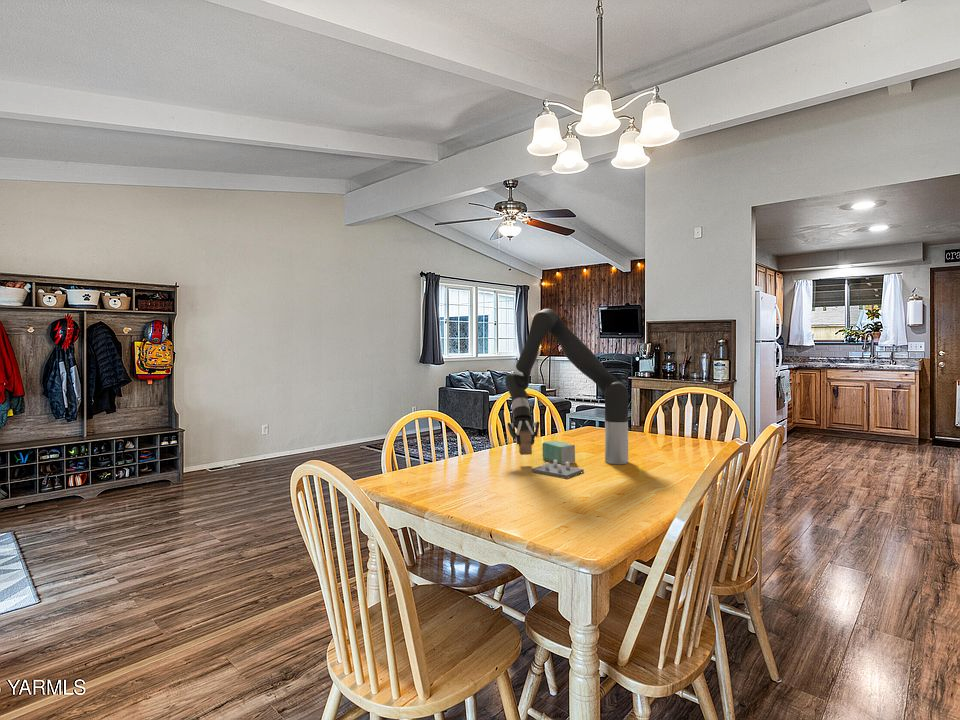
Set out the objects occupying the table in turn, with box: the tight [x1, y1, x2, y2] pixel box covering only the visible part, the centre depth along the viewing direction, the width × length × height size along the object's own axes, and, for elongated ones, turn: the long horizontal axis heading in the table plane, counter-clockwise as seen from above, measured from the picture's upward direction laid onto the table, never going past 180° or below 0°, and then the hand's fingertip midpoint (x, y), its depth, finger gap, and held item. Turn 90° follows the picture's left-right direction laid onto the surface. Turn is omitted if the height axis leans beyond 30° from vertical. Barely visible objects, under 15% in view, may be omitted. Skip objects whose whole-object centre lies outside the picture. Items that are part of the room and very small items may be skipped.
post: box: [518, 430, 533, 456], centre depth 221 cm, size 4×4×9 cm
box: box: [542, 440, 576, 465], centre depth 228 cm, size 7×14×8 cm, turn 29°
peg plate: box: [531, 460, 585, 479], centre depth 208 cm, size 12×16×4 cm
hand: (526, 444), depth 219 cm, fingers closed on post, 4 cm apart
